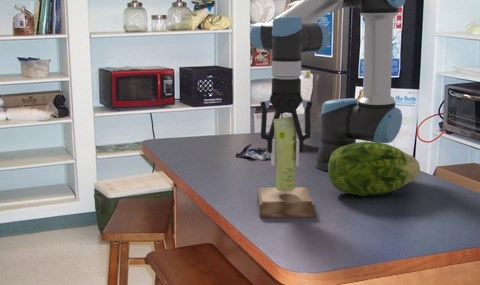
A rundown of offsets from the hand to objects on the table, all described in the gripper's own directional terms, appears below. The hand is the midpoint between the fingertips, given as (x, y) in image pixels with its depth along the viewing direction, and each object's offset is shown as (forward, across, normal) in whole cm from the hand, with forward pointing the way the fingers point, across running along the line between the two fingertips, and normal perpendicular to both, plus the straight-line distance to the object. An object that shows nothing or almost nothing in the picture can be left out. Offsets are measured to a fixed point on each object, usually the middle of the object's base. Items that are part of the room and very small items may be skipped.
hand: (285, 164), depth 166 cm
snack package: (+13, +6, -60) cm, 62 cm away
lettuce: (+12, -27, -13) cm, 32 cm away
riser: (+12, 0, 0) cm, 12 cm away
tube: (+7, 0, 0) cm, 7 cm away
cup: (+12, -11, -81) cm, 83 cm away
